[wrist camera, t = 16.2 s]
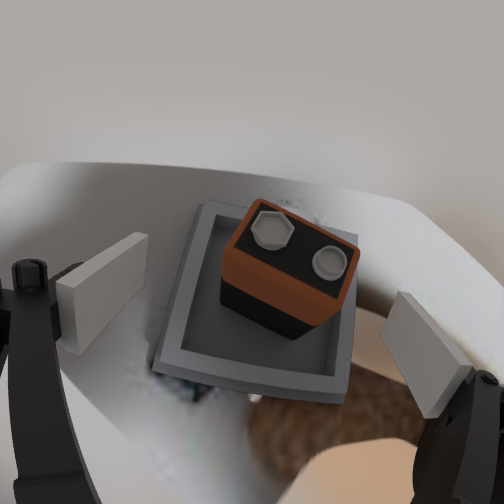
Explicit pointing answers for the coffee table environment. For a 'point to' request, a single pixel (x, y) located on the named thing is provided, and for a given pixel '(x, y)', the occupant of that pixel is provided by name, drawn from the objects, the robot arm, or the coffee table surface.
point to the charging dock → (247, 328)
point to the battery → (285, 271)
